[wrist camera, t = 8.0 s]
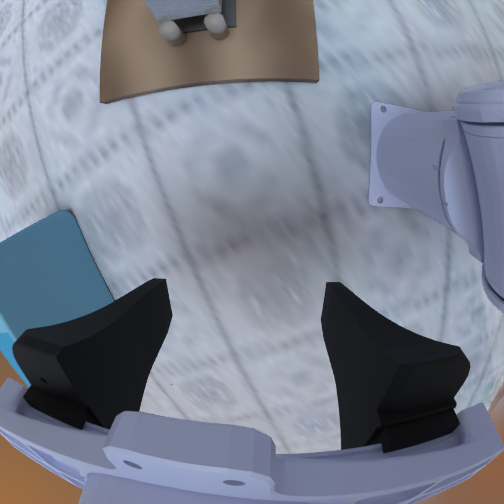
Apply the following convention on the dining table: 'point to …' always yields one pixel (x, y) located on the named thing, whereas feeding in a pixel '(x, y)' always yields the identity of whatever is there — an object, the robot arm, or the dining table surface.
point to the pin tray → (206, 47)
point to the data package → (46, 280)
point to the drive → (182, 8)
